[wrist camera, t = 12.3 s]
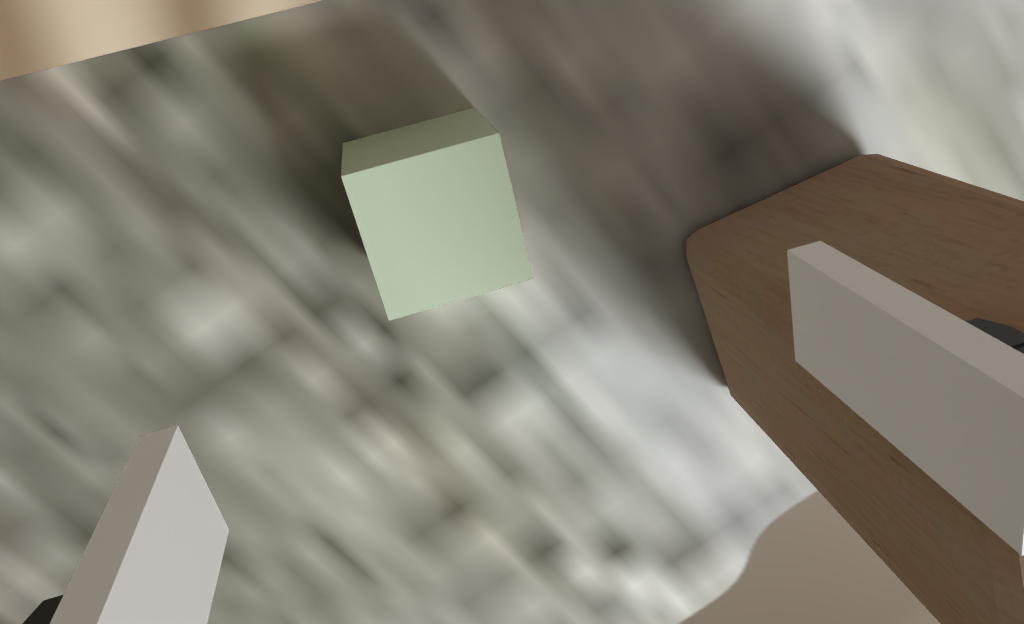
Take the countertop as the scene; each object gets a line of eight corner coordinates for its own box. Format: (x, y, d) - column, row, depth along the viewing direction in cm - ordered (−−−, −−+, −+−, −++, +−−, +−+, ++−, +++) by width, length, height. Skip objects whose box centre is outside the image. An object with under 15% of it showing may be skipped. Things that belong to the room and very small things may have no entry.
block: (671, 232, 35) (1007, 494, 17) (869, 141, 35) (1409, 306, 17) (727, 401, 40) (1042, 752, 21) (903, 319, 40) (1364, 601, 22)
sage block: (382, 265, 33) (389, 320, 28) (342, 142, 31) (341, 176, 26) (504, 231, 34) (533, 278, 28) (473, 107, 31) (499, 132, 26)
